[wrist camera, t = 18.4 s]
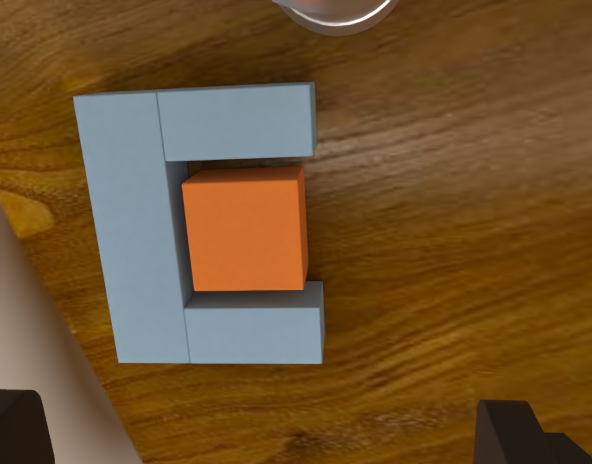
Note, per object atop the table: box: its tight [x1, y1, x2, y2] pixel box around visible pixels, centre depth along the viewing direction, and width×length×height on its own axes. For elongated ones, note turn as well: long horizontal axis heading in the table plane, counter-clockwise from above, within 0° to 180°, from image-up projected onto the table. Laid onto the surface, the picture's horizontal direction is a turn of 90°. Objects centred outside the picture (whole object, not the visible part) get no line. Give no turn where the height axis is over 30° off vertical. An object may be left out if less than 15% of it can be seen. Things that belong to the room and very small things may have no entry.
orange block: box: [182, 166, 308, 291], centre depth 28 cm, size 6×6×4 cm
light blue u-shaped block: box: [73, 81, 325, 364], centre depth 28 cm, size 14×11×4 cm
